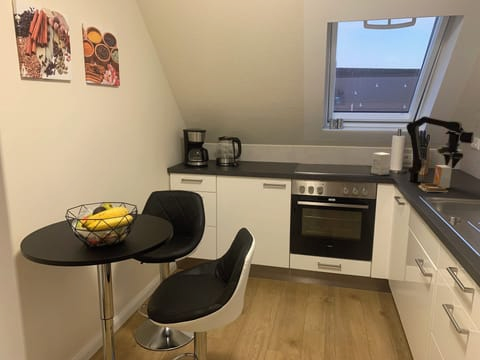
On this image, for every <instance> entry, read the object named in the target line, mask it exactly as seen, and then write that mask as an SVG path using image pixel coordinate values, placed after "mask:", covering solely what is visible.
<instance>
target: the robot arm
mask: <svg viewBox="0 0 480 360" xmlns="http://www.w3.org/2000/svg"><path fill="white" fill-rule="evenodd" d="M425 124H429V125H432V126H433V125H434V126H437V127H443V128H445V129H446V130H448V131H447V132H445V135H448V139H447V142H446V143H445V145H441V146H438V147H436V151H437V153H438V154H441V155H442V156H443V158H444V163H445V164H444V165H446V166H448V165H449V163H450V161H451V168H452V169H454V168H455V167H456V166H457V164H458V163H459V161H460V160H461V159H463V158H464V154H463V153H462V152H461V151H460V152H459V150H458V149H459V148H458V147H460V143H462V144H470V145H471V144H473V143H474V140H475V137H474V135H475V134H474V131H473V132H472V131H470V132H469V131H465V130H464V128H463V123H462V122H461V121H459V120H458V121H456V120H444V119H438V118H434V117H429V116H425V115H424V116H422V117H420V118H418V119H417V120H414V121H413V122H412V121H411V122H408V123H407V125H406V131H407V133H408V136H409V137H410V142H411V150H412V157H413V158H412V162H411V163H412V166H411V167H410V168H408V169H407V171H408V173H409V178H407V181H408V182H410V183H421V181H420V180H419V179H420V173H421V171H422V170H424V168H425V166H426V165H427V164H426V161H425V160H426V159H425V158H423V157H422V155H421V149H420V148H421V147H420V142H419V132H420V127H421V126H424V125H425ZM459 141H460V143H459Z"/></svg>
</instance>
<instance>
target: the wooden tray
mask: <svg viewBox="0 0 480 360" xmlns="http://www.w3.org/2000/svg"><path fill="white" fill-rule="evenodd" d="M418 188H420V190H422V191H424V192H425V191H426V192H425V193H427V192H448V190H447V188H444V187H442V186H441V185H439V184H433V183H425V182H424V183H422V182H420V184H419V185H418Z"/></svg>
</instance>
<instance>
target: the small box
mask: <svg viewBox="0 0 480 360" xmlns="http://www.w3.org/2000/svg"><path fill="white" fill-rule="evenodd" d="M452 169H453V168H452V166H451V167H450V166H448V165H445V164H444V165H443V164H435V169H434V176H433V183H432V184H439V185H441V186H442V187H444V188H446V189H447V188H448V189H449V188H450V184H451V176H452Z"/></svg>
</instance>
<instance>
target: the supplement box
mask: <svg viewBox="0 0 480 360" xmlns="http://www.w3.org/2000/svg"><path fill="white" fill-rule="evenodd" d="M391 156H392V155H391V153H387V152H383V151H382V152H372V159H371V170H370V171H371V172H370V173H371V174H375V175H378V176H383V175H389V174H390V166H391V165H390V164H391Z"/></svg>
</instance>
